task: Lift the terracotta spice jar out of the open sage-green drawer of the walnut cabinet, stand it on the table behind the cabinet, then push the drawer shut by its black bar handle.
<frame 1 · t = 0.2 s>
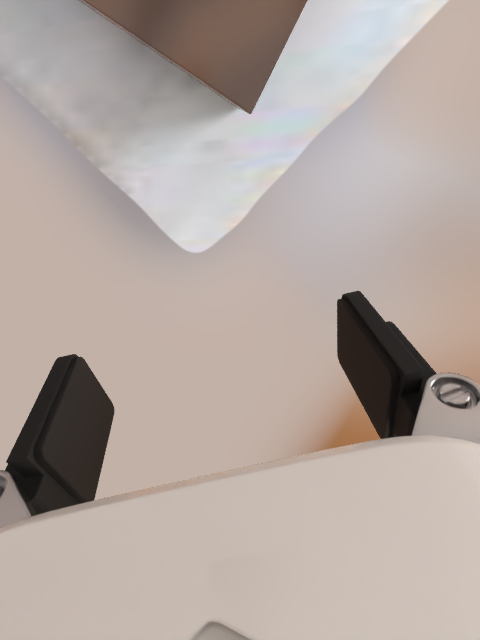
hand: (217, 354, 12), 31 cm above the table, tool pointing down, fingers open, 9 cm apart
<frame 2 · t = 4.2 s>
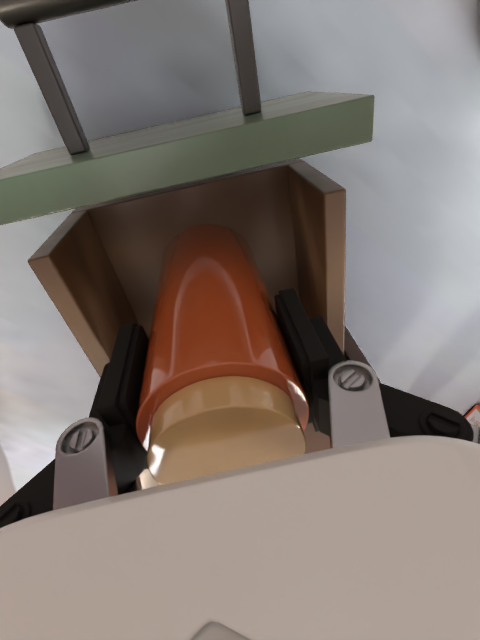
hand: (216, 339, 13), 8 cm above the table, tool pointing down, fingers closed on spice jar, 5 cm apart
cabinet: (243, 391, 26), on the table
drawer: (201, 253, 15), point 4 cm above the table, slide at 10.0 cm, touching spice jar
spice jar: (209, 269, 18), point 2 cm above the table, touching drawer, gripper
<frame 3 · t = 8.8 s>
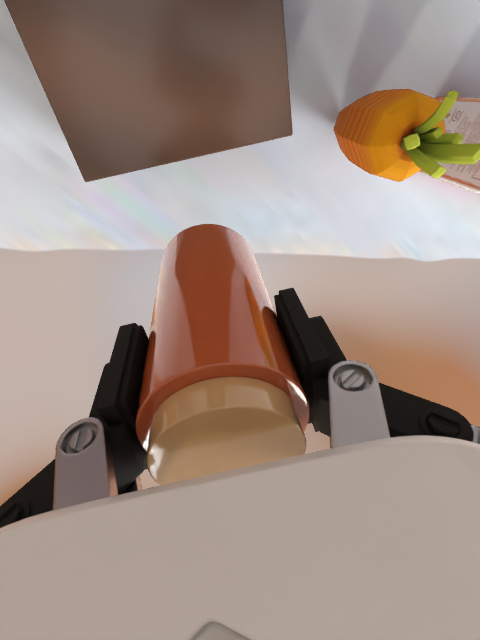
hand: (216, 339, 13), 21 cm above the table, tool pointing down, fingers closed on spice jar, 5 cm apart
cabinet: (158, 16, 23), on the table
carrot: (340, 122, 28), on the table
cracker box: (474, 152, 31), on the table
spice jar: (209, 269, 17), point 15 cm above the table, touching gripper
when the fingers open (6 cm above the table, at t = 13.4 s): spice jar stays where it is, on the table.
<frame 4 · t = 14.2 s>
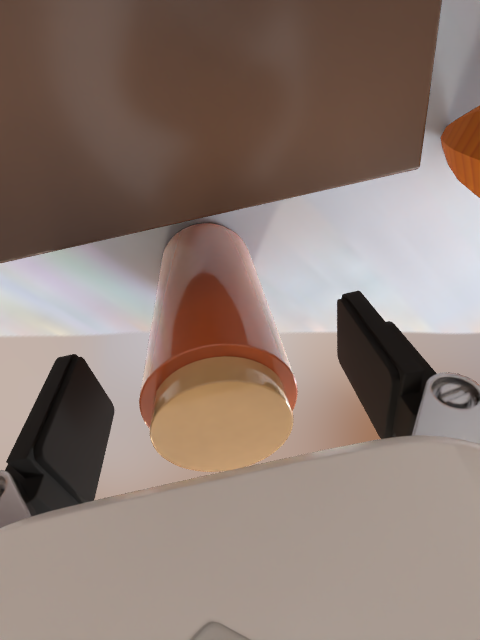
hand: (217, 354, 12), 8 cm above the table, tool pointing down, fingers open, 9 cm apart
carrot: (444, 133, 16), on the table
spice jar: (207, 266, 19), on the table
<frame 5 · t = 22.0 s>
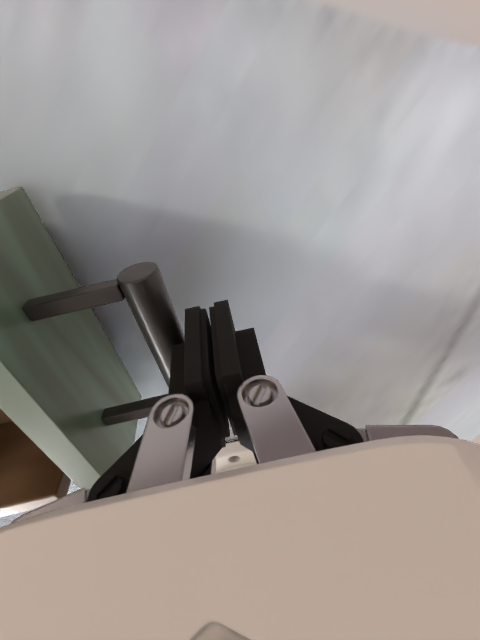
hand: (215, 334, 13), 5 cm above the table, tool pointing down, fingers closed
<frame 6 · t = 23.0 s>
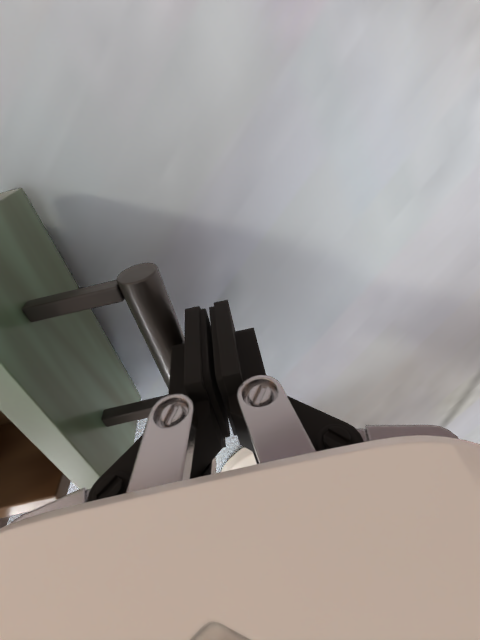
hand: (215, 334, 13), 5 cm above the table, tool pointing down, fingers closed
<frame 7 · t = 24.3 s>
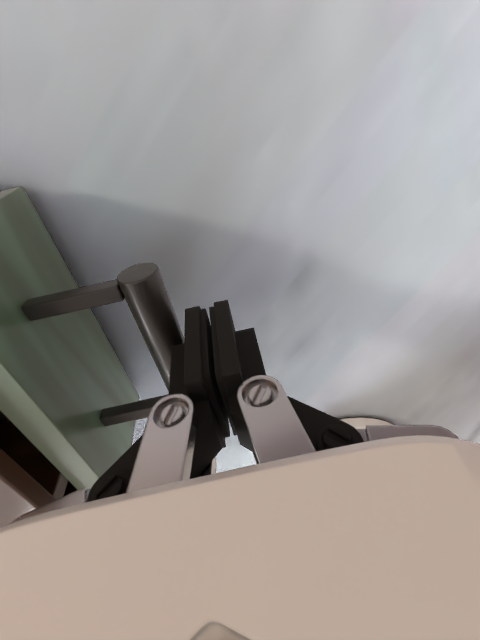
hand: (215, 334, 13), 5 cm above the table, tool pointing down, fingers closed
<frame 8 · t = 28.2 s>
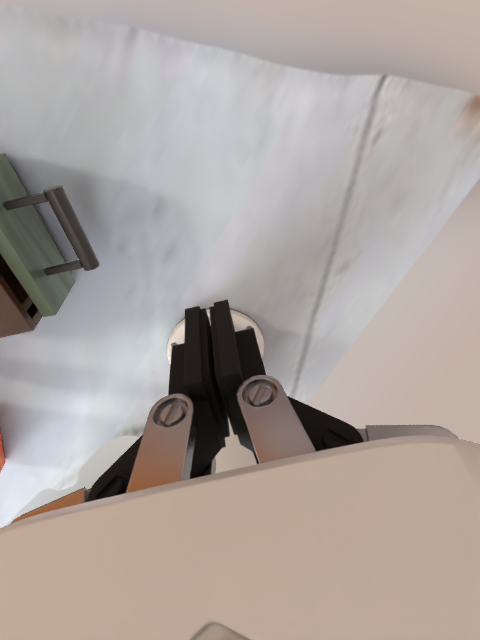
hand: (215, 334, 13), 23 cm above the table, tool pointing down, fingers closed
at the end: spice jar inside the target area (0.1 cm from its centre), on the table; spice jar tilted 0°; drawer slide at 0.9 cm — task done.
